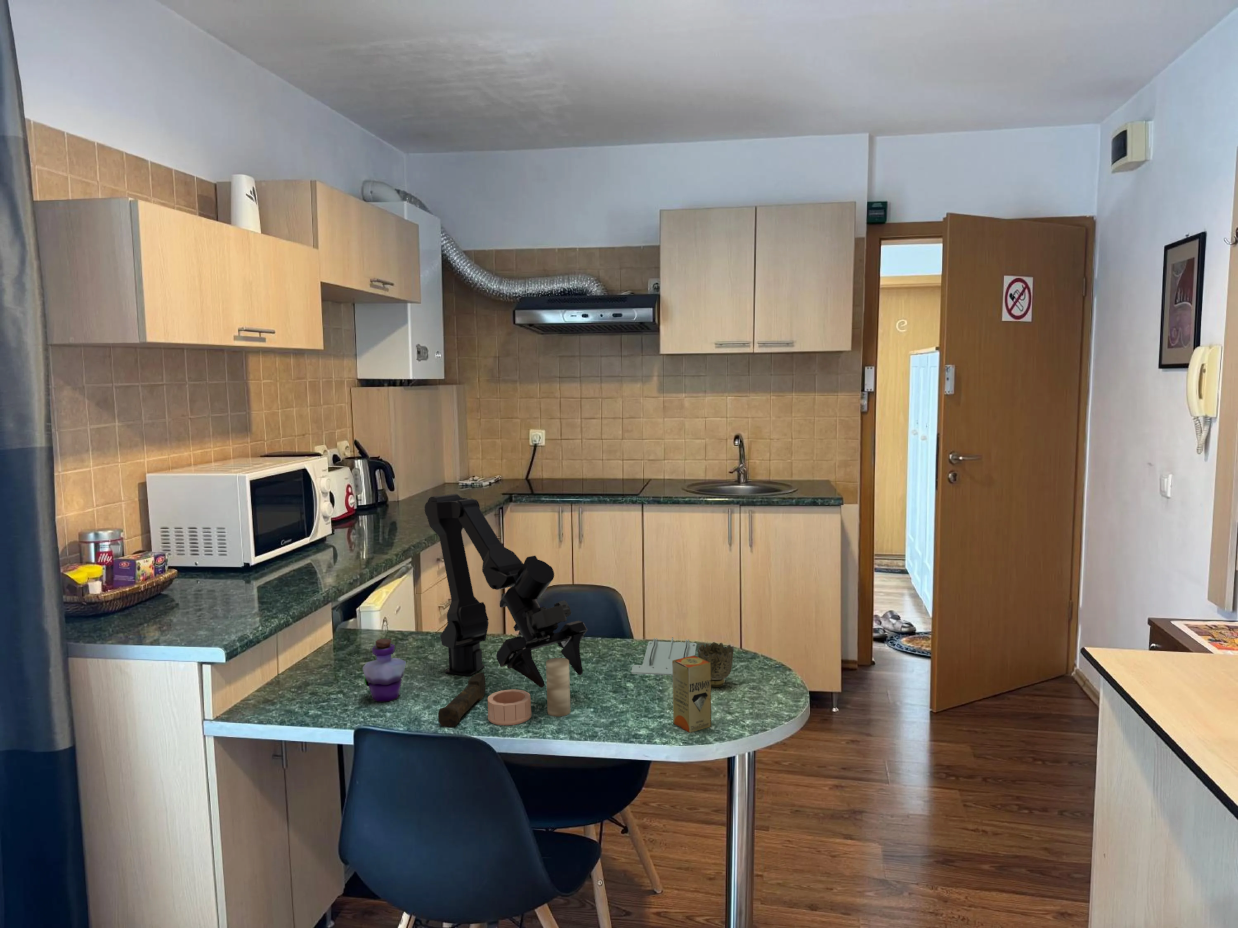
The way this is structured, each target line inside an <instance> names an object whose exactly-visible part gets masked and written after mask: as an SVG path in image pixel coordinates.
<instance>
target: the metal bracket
mask: <svg viewBox="0 0 1238 928" xmlns="http://www.w3.org/2000/svg"><path fill="white" fill-rule="evenodd" d="M647 643H648V644H647V647H646V651H645V654H644V658H643V661H642V664H633V665H632V667H631V673H630V674H631V675H654V676H655V675H659V676H660V675H661V676H673V668H672V660H676V659H681V658H685V657H689V656H693V655H694V656H696V650H697V642H690V639H687V638H686V639H685V642H683V641H682V642H680V641H679V642H678V641H674V637H671V641H659V640H658V638H655V637H654V638H653V640H651V641H648V642H647Z"/></svg>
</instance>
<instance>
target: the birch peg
mask: <svg viewBox="0 0 1238 928" xmlns="http://www.w3.org/2000/svg"><path fill="white" fill-rule="evenodd" d="M545 672H546V678H545V679H546V699H547V704H546V705H547V715H548V716H551V717H558V718H559V717H565V716H567V715H570V713H571V712H572V711H571V690H570V689H571V687H570V684H571V682H570V664H569V660H568V659H566V658H565V657H553V658H548V659H547V660H546V661H545Z"/></svg>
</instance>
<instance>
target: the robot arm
mask: <svg viewBox="0 0 1238 928" xmlns="http://www.w3.org/2000/svg"><path fill="white" fill-rule="evenodd" d="M424 513H425V516H426V518H427V521H428V525H429V527H430V528H431V529H432V530H433V532H434V533H435V534H436V535H437V536H438V539H439V543H440V547H441V548H440V549H441V552H442V553H441V554H442V559H443V563H444V569H445V573H446V578H447V583H448V589H449V593H450V594H449V595H450V599H451V602H450V604H449V607H448V609H447V612H446V613H447V614H446V619H447V625H446V626H445V628H444V629H443V631H442V632H441V634H440V641H441V645H442V646H444V647H445V648H447V650H448V668H447V669H445V671H444V672H445V674H452V675H459V676H460V675H461V676H469V677H470V676H473V674H474V675H475V674H476V673H477V672H478V671H480V670H481V669H484V668H485V664H483V651H482V650H483V649H481V642H485V641H486V640H487V635H488V629H489V617H488V614H487V609H486V603H484V602H483V601H482V602H480V601H479V600H478V599H477V597H475V594H474V590H473V585H472V579H471V575H470V569H469V564H468V560H467V559H468V558H467V554H466V549H465V543H464V538H463V532H462V530H463V529H464V531H465V533H466V535H467V536H468V538H469V539H470V540H471V542H472V544H473V546H474V547H475V549H476V551H477V553H478V555H479V556H480V557H481V560H482V566H481V567H482V568H481V571H482V573H483V576H484V579H485V581H486V583H487V584H488V586H489V588H491V590H495V591H497V590H499V591H500V590H502V589H507V588H508V589H507V590H506V591H505V592H504V593H501V598H500V601H499V607H500V608H501V609H502V608H505V607H506V608H507V609H508V612H509V614H510V616H511V617H512V619H513V621H514V623H515V624H514V626H513V630H514V632H518V631H519V633H520V634H521V635H519V636H515V637H511V638H508V639H505V640H504V642H503V643H502V644H501V646H500V647H499V649H498V650H497V652H496V660H497V661H496V662H497V663H498V665H499V667H502V668H503V667H505V666H506V667H507V669H508V670H509V669H512V670H514V671H515V672H517V673H519V674H521V675H523V676H524V677H526V678H527V679H529V681H530V682H533V683H534V684H535V685H536V686H538V687H539V688H544V687H545V685H546V684H545V681H544V679H543V677H542V675H541V672H540V670H539V669H538V667H537V665H536V663H535V662H534V659H533V654H532V651H534V650H538V649H541V648H546V647H548V646H552V645H555V644H557V645H558V647H559V648H561V650H560V653H561V654H562V656H563V658H566V659H568V660H569V666H571V667H572V670H574V672H576V673H577V676H582V674H583V673H584V672H583V671H584V670H583V665H582V658H581V653H580V652H581V649H580V643H581V641H582V640H583V638H584V637H585V634H586V633H587V631H588V628H587V627H586V624H585V623H584V622H583V621H581V620H576V621H571V622H568V623H565V622H567V621H568V620H567V617H570V616H572V610H571V606H570V605H569V604H568V602H567V601H566V599H564V600H561V601H557V602H555V603H554V605H553V606H551V607H548V608H547V607H545V606H540V604H539V603H538V601H537V600H538V599H540V598H541V596H542V595H543V594H544V593H545V591H547V588H548V587H549V586H550V584H551V583H552V582H553V580H554V578H555V572H554V569H553V567H552V566H551V565H549V564H548V563H547V562H545V561H543V560H540V559H538V558H537V555H532V556H526V558H525V559H524V563H523V562H522V560H521V559H520V558H519V557H518V556H517V554H516V553H515V552H514V551H513V550H511V549H509V548H507V547H505V546H504V545H503V544H502V542H501V541H500V539H499V538H498V536H497V534H496V533H495V531H494V530H493V528H492V526H491V525H490V523H489V521H488V520H487V519H486V516H485V515H484V514H483V512H482V510H481V508H480V503H479V501H478V500H477V499H474V498H469V497H461V496H460V495H459V494H458V493H451V494H444V495H435V496H433V495H432V496H430V497H429V498H428V499H427V502H426V503H425V505H424ZM562 622H564V623H565V624H564V625H563V626H562V628H561V629H560V631H559V632H555V631H556V630H557V629H558V628H559V624H560V623H562Z"/></svg>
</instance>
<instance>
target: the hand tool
mask: <svg viewBox="0 0 1238 928" xmlns="http://www.w3.org/2000/svg"><path fill="white" fill-rule="evenodd" d="M486 685H487V684H486V676H485V673H484V672H478V673H477V672H476V673H474V675H472V677H470V678H469V679H468V681H467V685H466V687H465V688H464V689H463V690H461V692H460V693H459V694H457V695H456V696H455V697H454V698H453V699H452V700H451V701H450V702H448V704H447V705H446V706H444V707H441V708H439V710H438V713H437V714H438V715H437V717H438V718H437V719H438V721H437V722H438V723H439V724H440V726H441V727H448V728H449V727H450V728H453V727H456V726H458V724H459V723H460V721H461V719H462V717H463V716H464V715H465V714H466V712H468V711H469V710H470V709H471V708H472V707H473V705H474V704H475V703H476V702H479V701H481V700H482V699H483V698H484V696H485V694H486V693H485V692H486Z"/></svg>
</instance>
